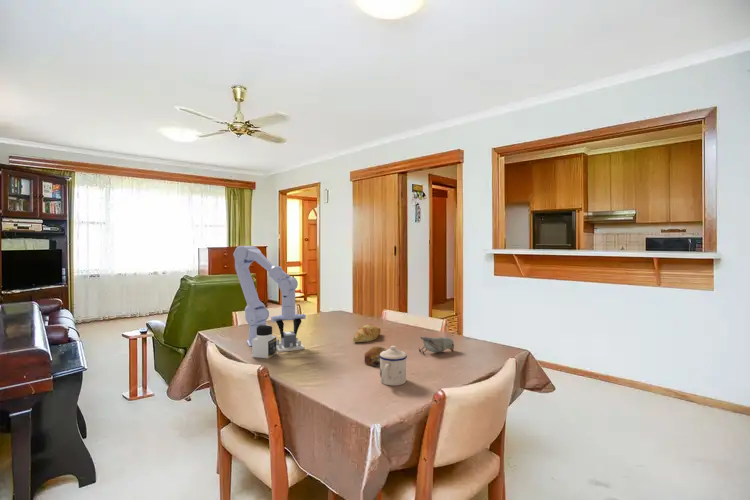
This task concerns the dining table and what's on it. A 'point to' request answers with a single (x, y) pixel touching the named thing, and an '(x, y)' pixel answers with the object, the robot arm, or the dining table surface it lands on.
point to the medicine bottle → (264, 342)
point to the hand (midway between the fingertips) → (288, 336)
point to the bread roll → (373, 355)
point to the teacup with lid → (393, 367)
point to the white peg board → (282, 349)
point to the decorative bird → (437, 344)
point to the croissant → (366, 333)
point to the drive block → (288, 339)
